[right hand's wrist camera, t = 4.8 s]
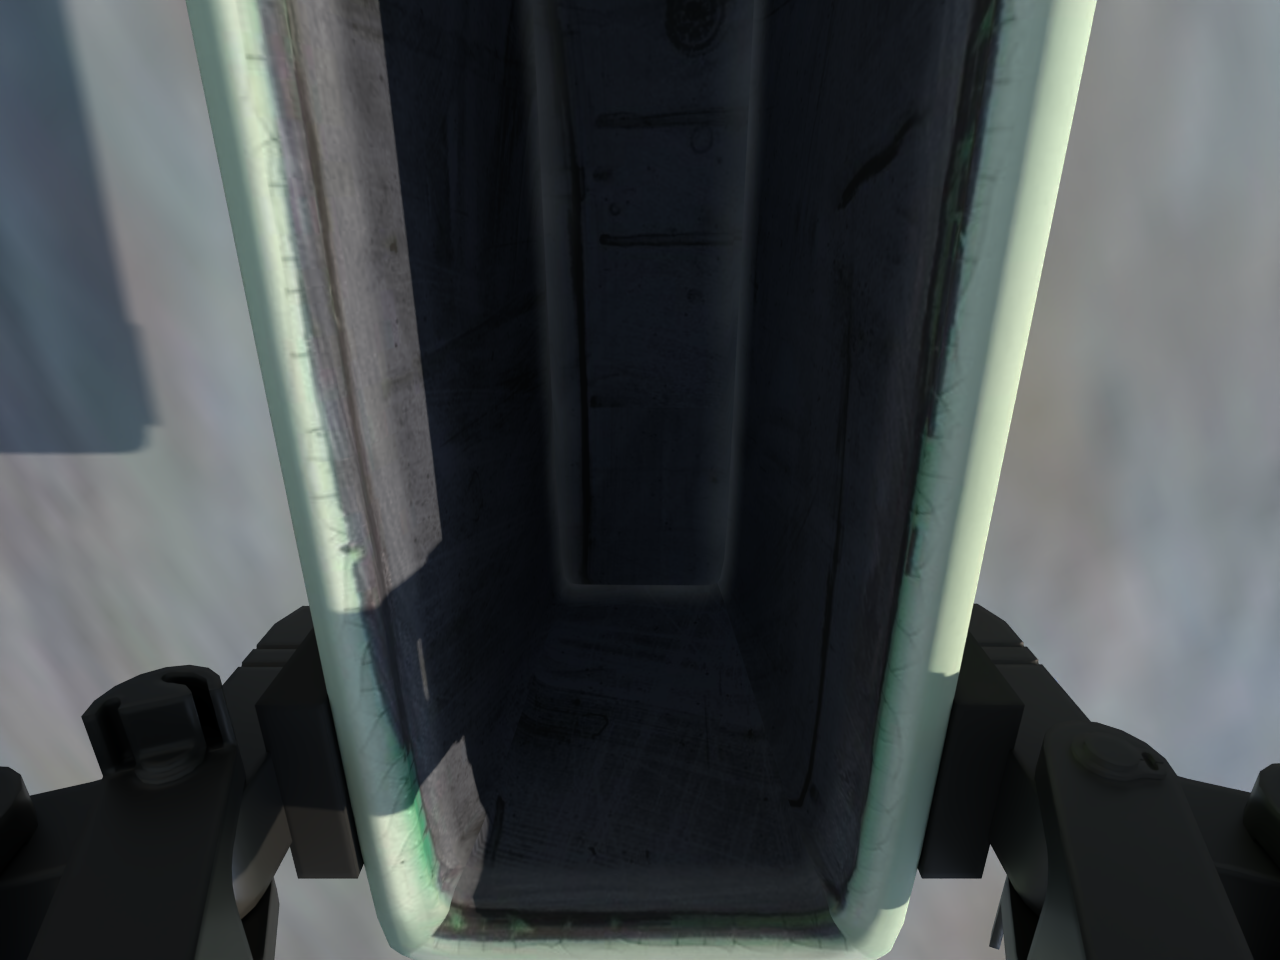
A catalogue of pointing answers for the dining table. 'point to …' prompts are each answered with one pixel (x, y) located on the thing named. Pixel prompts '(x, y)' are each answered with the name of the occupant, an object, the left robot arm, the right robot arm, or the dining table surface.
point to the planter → (641, 434)
